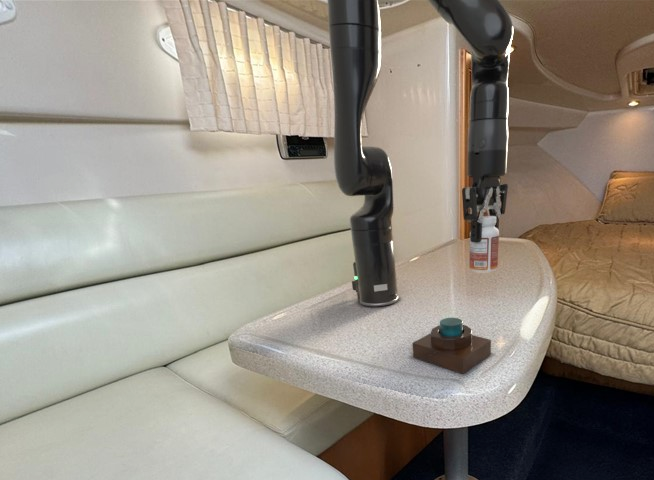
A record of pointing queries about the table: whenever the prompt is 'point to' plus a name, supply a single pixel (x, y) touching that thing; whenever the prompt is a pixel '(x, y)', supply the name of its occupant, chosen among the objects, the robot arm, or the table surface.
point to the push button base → (452, 349)
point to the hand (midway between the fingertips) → (484, 239)
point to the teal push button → (451, 327)
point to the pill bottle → (485, 248)
